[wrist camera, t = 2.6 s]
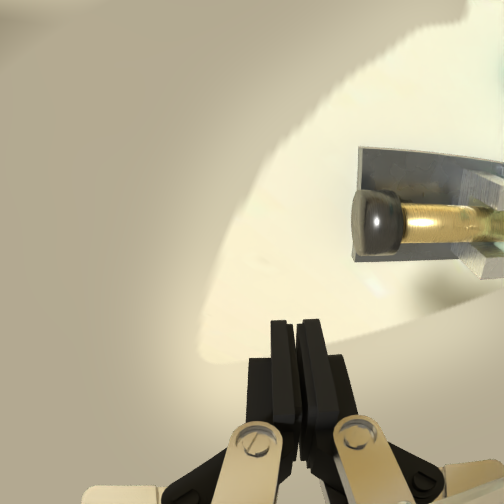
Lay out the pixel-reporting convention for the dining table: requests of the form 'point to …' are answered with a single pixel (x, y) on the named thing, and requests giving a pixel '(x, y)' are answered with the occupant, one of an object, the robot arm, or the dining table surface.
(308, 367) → the robot arm
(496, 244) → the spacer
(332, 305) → the dining table surface
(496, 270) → the rig
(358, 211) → the shaft
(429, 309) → the dining table surface
